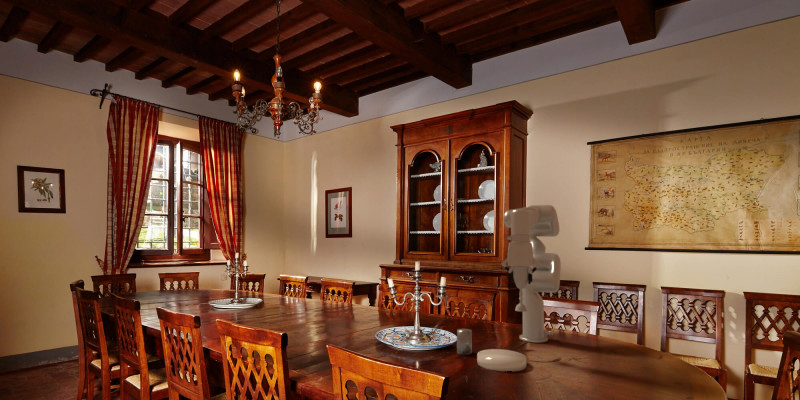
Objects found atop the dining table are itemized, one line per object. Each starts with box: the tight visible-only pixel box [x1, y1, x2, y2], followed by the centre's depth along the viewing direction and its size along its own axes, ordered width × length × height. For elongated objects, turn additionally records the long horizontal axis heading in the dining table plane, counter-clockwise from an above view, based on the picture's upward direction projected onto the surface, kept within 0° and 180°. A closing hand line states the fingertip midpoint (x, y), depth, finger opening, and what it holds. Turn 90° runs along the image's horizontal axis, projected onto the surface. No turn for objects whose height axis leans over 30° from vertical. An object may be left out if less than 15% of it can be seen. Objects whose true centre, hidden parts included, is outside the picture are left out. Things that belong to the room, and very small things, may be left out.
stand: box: [476, 348, 527, 372], centre depth 160 cm, size 18×18×3 cm
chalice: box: [513, 266, 529, 313], centre depth 174 cm, size 7×7×18 cm
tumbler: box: [456, 328, 473, 356], centre depth 174 cm, size 6×6×9 cm
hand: (520, 282), depth 174 cm, fingers closed on chalice, 6 cm apart
